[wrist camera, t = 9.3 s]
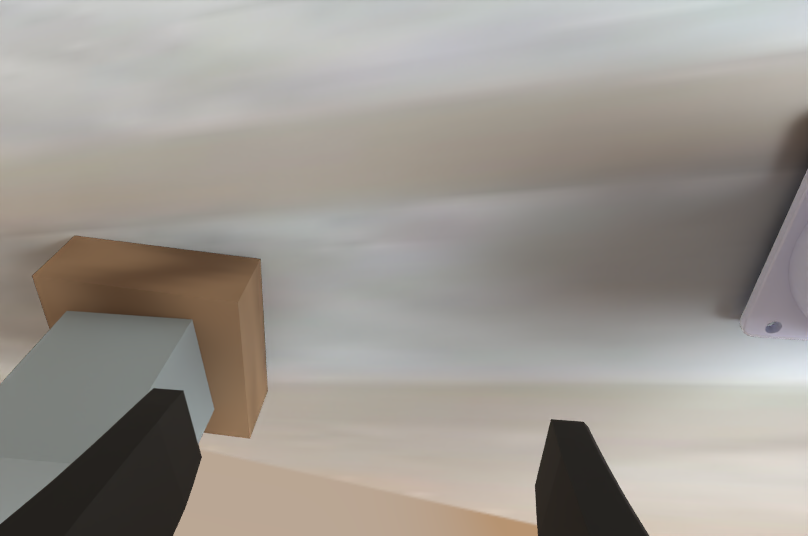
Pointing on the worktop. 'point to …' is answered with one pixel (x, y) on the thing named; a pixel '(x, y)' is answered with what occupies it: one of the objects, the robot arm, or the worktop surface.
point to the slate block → (89, 392)
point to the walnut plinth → (174, 310)
